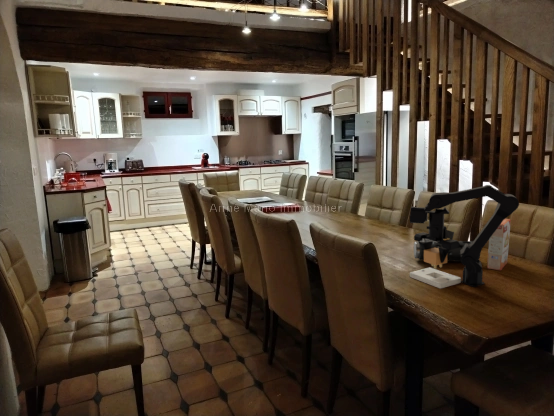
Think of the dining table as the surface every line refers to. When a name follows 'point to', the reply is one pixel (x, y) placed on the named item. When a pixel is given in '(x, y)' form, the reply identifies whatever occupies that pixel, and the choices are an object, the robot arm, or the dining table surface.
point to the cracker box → (499, 246)
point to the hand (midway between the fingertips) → (435, 260)
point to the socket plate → (439, 281)
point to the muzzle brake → (451, 255)
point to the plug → (433, 257)
